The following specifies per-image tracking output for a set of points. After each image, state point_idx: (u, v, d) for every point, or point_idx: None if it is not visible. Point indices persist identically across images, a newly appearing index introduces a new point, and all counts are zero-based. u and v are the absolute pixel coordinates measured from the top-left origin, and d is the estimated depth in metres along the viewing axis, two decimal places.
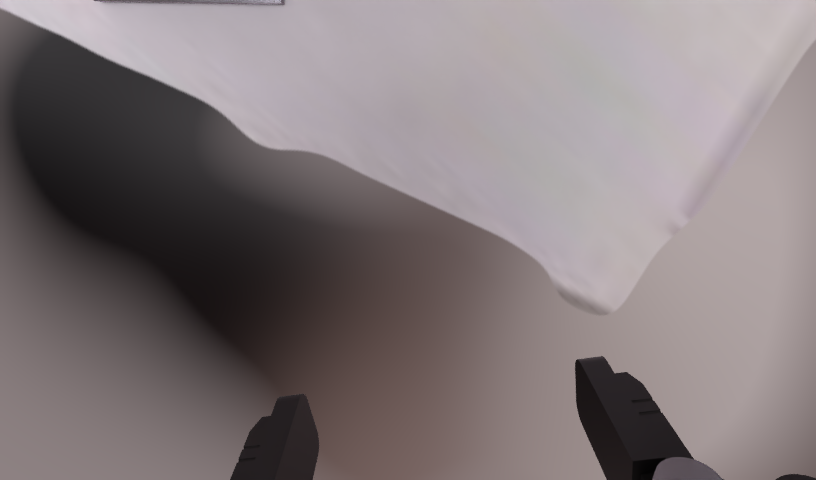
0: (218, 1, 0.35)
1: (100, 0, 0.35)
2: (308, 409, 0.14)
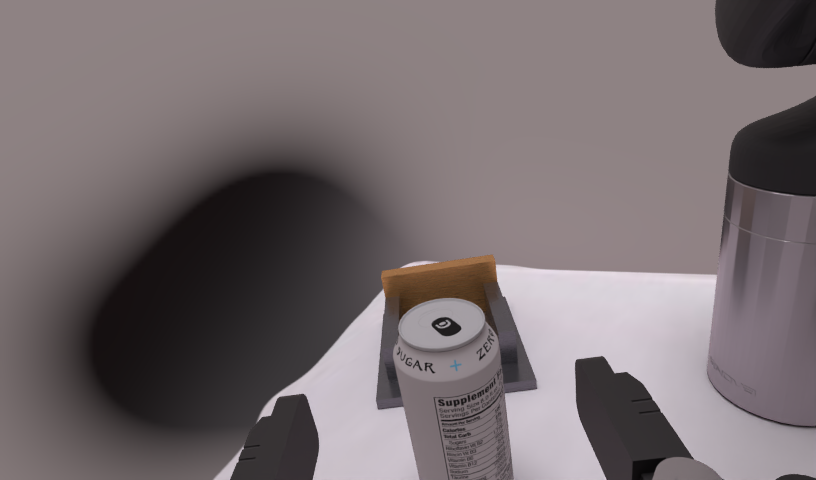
0: (379, 366, 0.45)
1: (383, 316, 0.54)
2: (308, 409, 0.14)
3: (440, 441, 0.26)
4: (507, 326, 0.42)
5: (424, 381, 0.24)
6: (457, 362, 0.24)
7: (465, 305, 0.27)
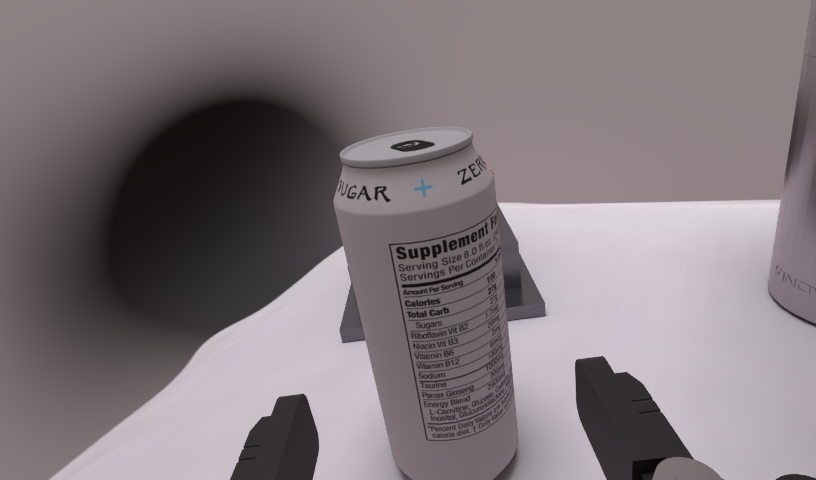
0: (348, 296, 0.36)
1: None
2: (308, 409, 0.14)
3: (403, 323, 0.17)
4: (508, 239, 0.33)
5: (373, 215, 0.15)
6: (425, 183, 0.15)
7: (443, 130, 0.18)
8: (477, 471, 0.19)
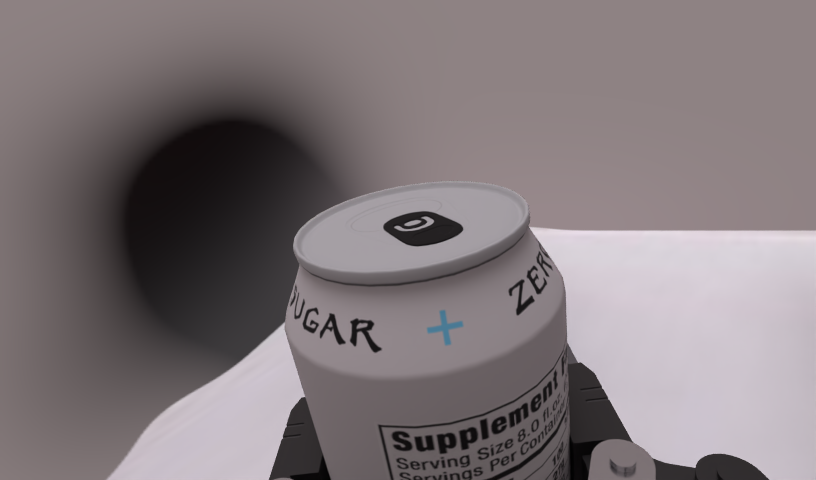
0: None
1: None
2: None
3: None
4: None
5: (349, 375, 0.08)
6: (449, 317, 0.08)
7: (472, 190, 0.11)
8: None
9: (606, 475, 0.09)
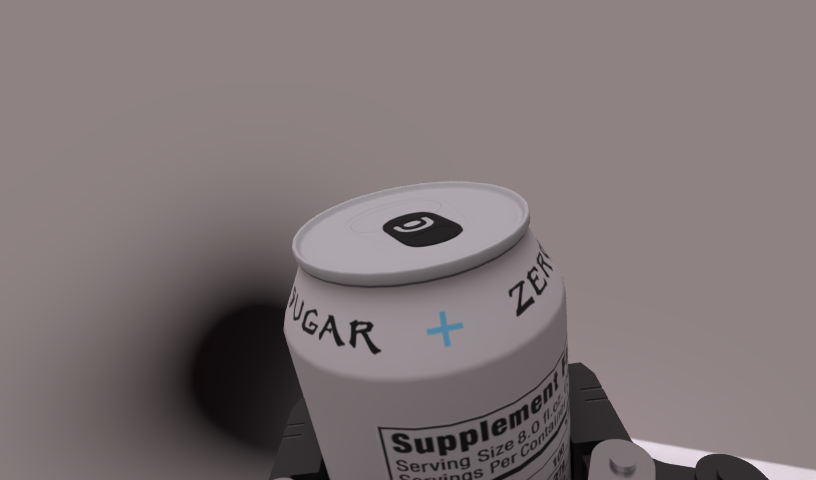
0: None
1: None
2: None
3: None
4: None
5: (349, 377, 0.08)
6: (448, 319, 0.08)
7: (472, 190, 0.11)
8: None
9: (606, 475, 0.09)
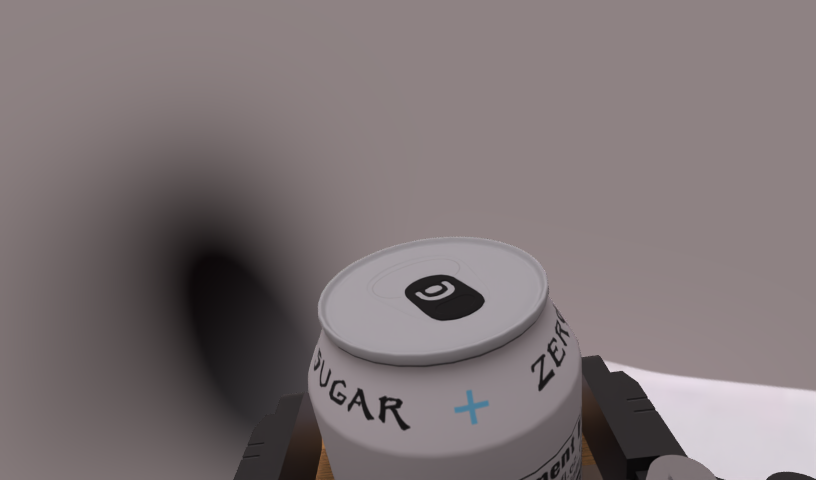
0: None
1: None
2: (311, 407, 0.14)
3: None
4: None
5: (378, 451, 0.08)
6: (475, 397, 0.08)
7: (488, 249, 0.11)
8: None
9: None
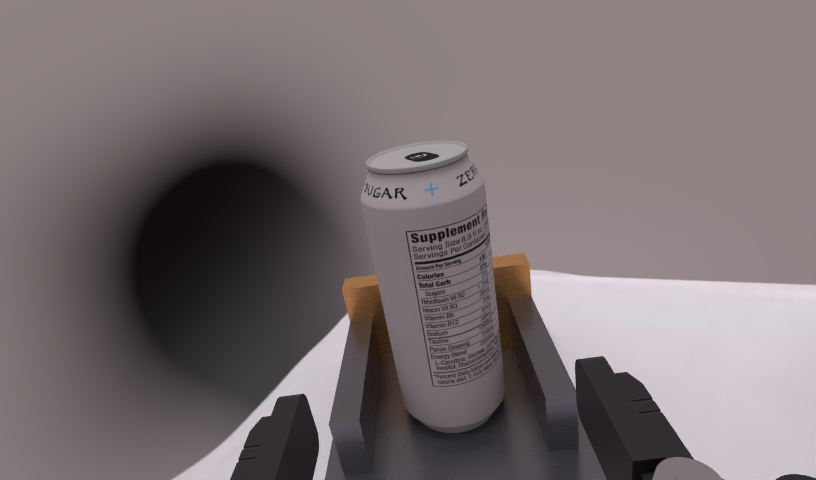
0: (333, 444, 0.26)
1: None
2: (308, 409, 0.14)
3: (415, 293, 0.22)
4: (561, 383, 0.23)
5: (394, 210, 0.20)
6: (432, 185, 0.20)
7: (445, 144, 0.23)
8: (472, 411, 0.24)
9: None
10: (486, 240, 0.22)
